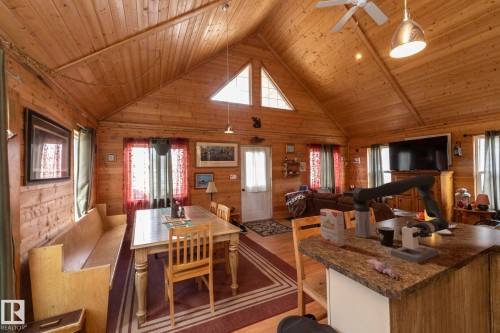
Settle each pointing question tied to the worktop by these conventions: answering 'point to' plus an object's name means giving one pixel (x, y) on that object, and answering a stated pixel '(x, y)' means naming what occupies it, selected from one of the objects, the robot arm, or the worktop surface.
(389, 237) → the coffee mug
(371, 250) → the worktop surface
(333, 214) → the cracker box
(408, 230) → the plug
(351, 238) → the worktop surface
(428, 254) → the socket
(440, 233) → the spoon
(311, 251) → the worktop surface
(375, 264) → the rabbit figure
